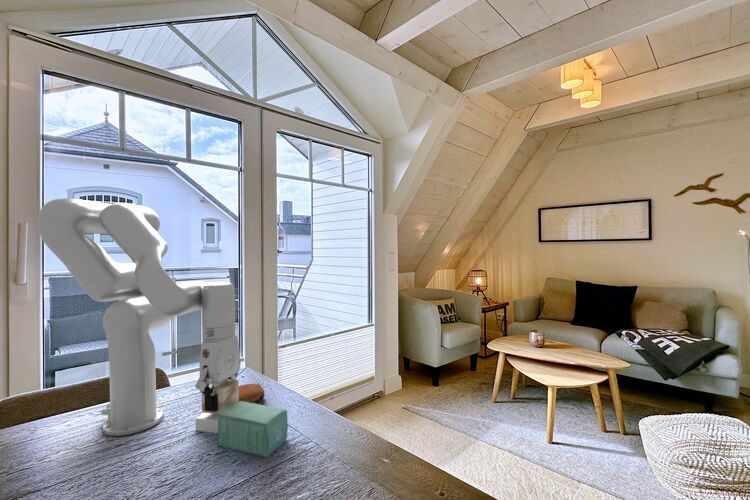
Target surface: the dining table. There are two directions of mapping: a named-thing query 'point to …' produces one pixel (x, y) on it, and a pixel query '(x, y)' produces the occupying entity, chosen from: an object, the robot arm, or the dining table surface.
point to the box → (252, 428)
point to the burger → (251, 393)
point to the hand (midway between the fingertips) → (220, 403)
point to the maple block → (224, 395)
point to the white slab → (207, 422)
